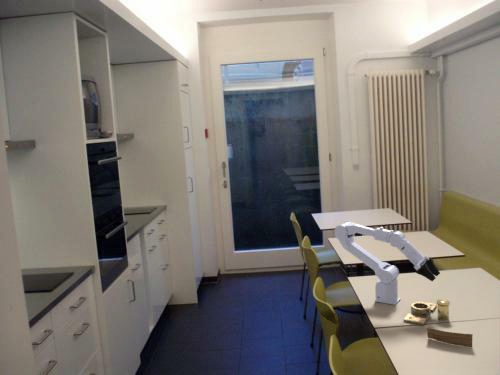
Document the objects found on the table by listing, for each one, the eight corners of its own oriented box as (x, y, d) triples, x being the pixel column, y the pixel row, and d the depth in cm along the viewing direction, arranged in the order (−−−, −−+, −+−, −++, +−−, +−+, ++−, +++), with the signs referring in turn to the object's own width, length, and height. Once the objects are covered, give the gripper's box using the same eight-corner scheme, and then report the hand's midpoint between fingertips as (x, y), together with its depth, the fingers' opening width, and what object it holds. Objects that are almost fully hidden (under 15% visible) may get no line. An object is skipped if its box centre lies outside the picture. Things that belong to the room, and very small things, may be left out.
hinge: (403, 321, 193) (403, 313, 193) (418, 303, 211) (418, 295, 211) (423, 325, 189) (423, 317, 188) (436, 306, 207) (436, 298, 206)
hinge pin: (435, 318, 194) (435, 302, 193) (438, 314, 198) (438, 298, 197) (448, 321, 192) (448, 304, 191) (450, 316, 196) (450, 300, 195)
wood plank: (472, 345, 170) (472, 333, 170) (472, 348, 169) (472, 335, 168) (427, 338, 178) (427, 326, 177) (427, 340, 176) (426, 328, 175)
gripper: (413, 251, 198) (438, 276, 194) (423, 244, 210) (446, 266, 206) (402, 262, 202) (426, 286, 197) (412, 254, 213) (435, 277, 209)
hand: (436, 277), depth 202 cm, fingers open, 7 cm apart
